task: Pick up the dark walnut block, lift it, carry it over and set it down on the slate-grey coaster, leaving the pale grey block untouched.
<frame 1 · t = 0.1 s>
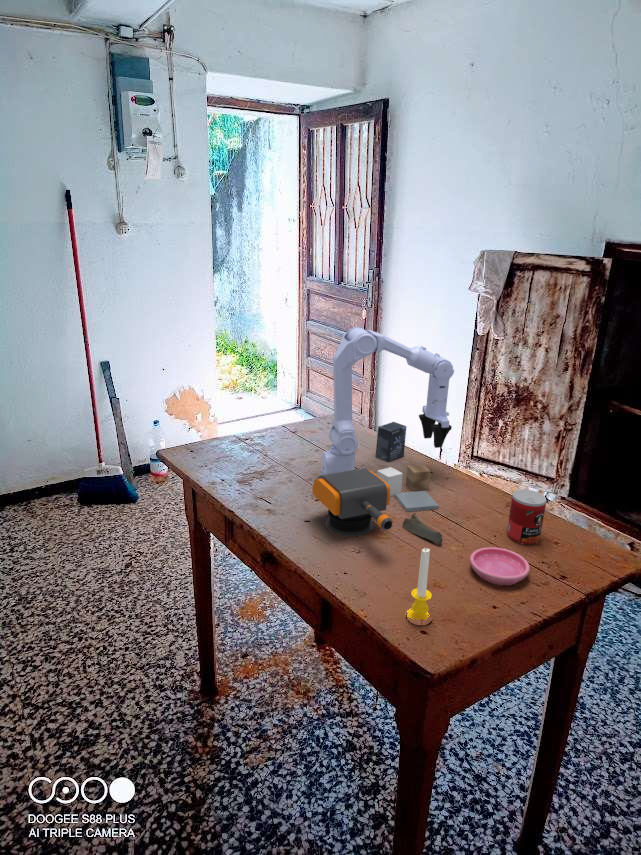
hand: (432, 442, 176), 10 cm above the table, tool pointing down, fingers open, 7 cm apart
coaster: (416, 502, 161), on the table
sander: (359, 534, 144), on the table
bone: (425, 535, 145), on the table
grey block: (388, 491, 167), on the table
saucer: (497, 574, 130), on the table
canned food: (522, 537, 145), on the table
walnut block: (417, 487, 170), on the table
box: (389, 457, 191), on the table
candle: (419, 618, 115), on the table
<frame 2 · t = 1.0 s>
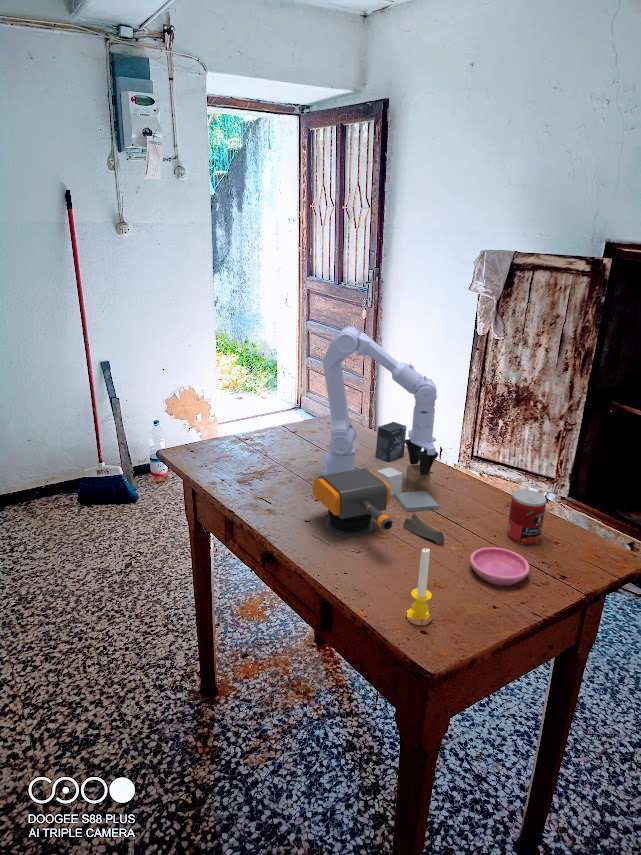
hand: (419, 469, 168), 6 cm above the table, tool pointing down, fingers open, 7 cm apart
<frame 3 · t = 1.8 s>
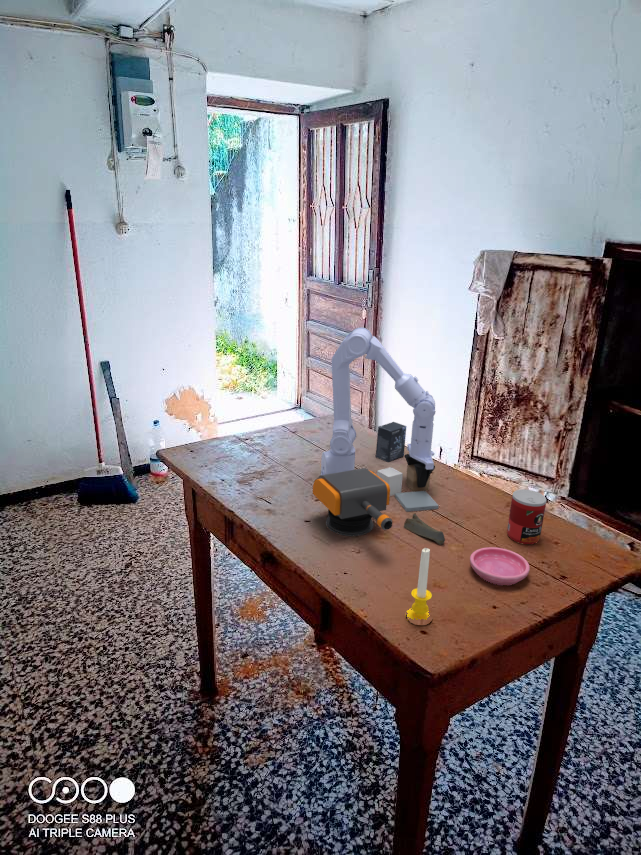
hand: (417, 482, 169), 1 cm above the table, tool pointing down, fingers closed on walnut block, 5 cm apart
walnut block: (417, 487, 170), on the table, touching gripper
everything else where it was.
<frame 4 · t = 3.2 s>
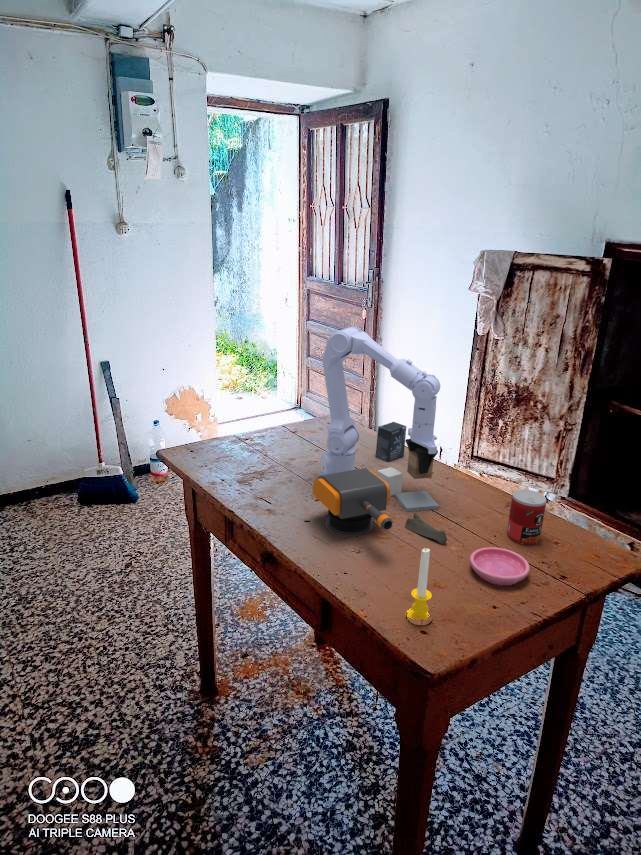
hand: (419, 468, 161), 8 cm above the table, tool pointing down, fingers closed on walnut block, 5 cm apart
walnut block: (419, 474, 162), point 7 cm above the table, touching gripper
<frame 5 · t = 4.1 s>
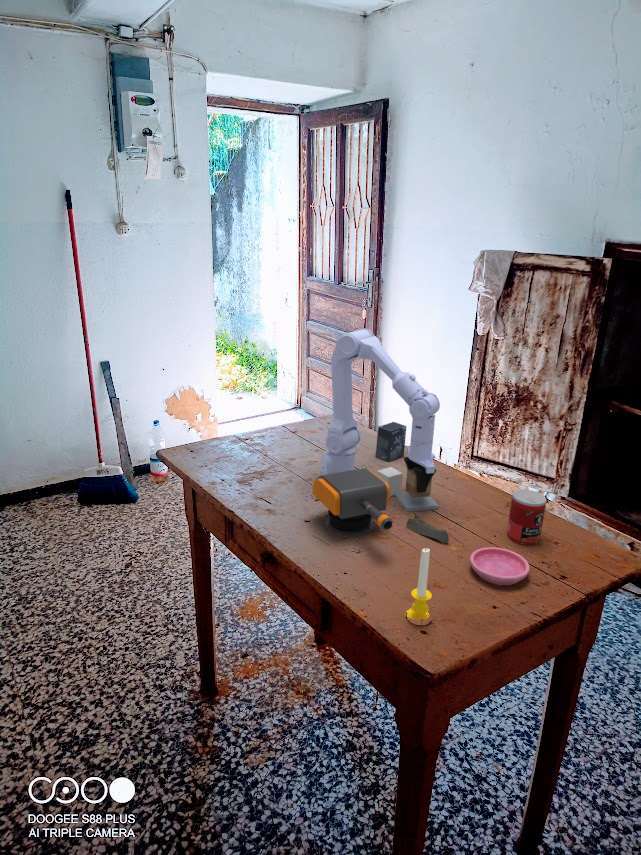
hand: (417, 487, 159), 5 cm above the table, tool pointing down, fingers closed on walnut block, 5 cm apart
walnut block: (417, 493, 160), point 3 cm above the table, touching gripper
when the fingers open (4 cm above the table, at t = 4.7 s): walnut block drops 1 cm, resting on coaster.
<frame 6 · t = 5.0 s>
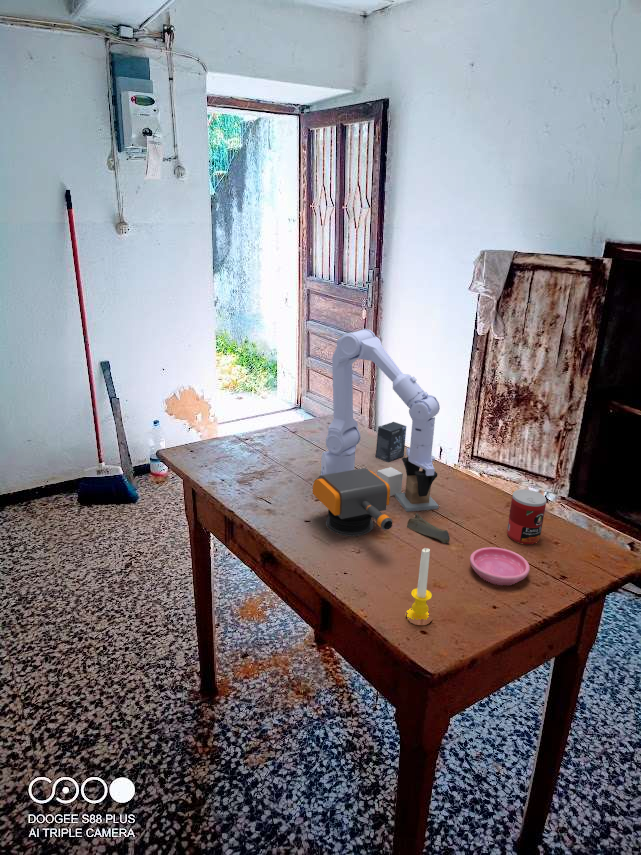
hand: (417, 489, 159), 4 cm above the table, tool pointing down, fingers open, 7 cm apart
walnut block: (416, 499, 160), point 1 cm above the table, touching coaster
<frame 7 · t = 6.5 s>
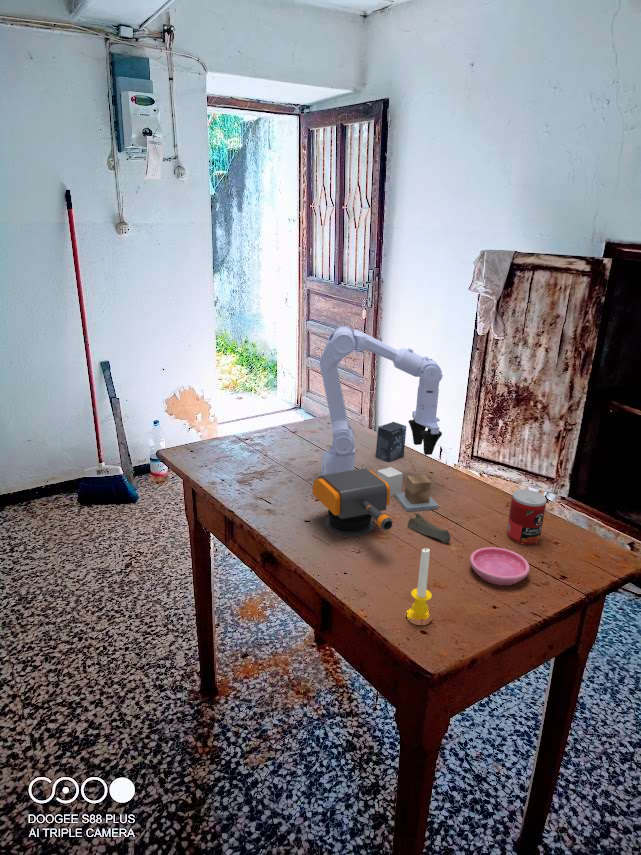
hand: (422, 449, 169), 10 cm above the table, tool pointing down, fingers open, 7 cm apart
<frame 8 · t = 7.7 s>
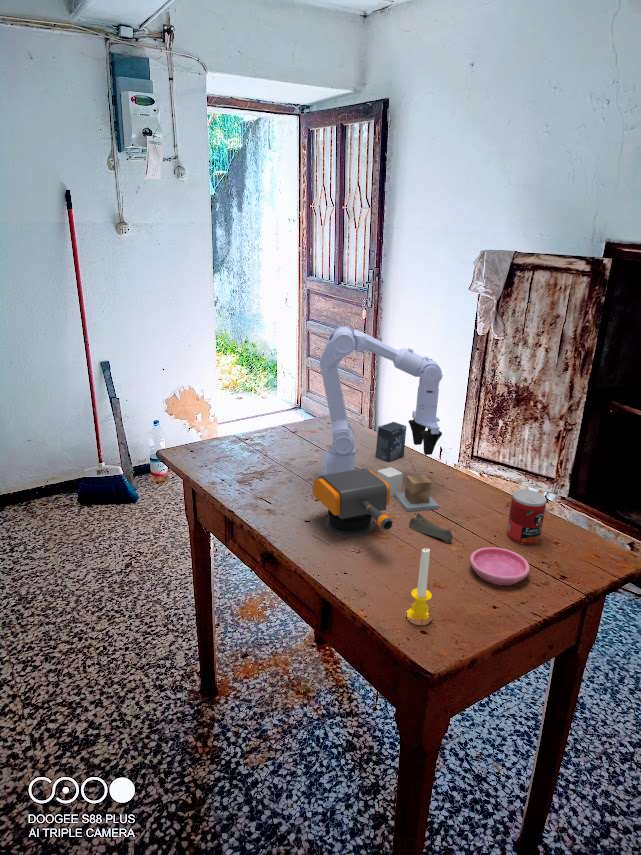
hand: (422, 449, 169), 10 cm above the table, tool pointing down, fingers open, 7 cm apart
at the end: walnut block inside the target area on the coaster (0.2 cm from its centre), point 1.0 cm above the coaster's base; walnut block tilted 0°; the gripper is holding nothing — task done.
